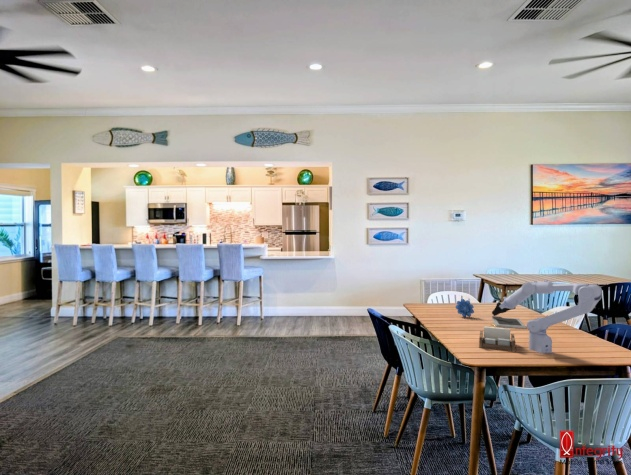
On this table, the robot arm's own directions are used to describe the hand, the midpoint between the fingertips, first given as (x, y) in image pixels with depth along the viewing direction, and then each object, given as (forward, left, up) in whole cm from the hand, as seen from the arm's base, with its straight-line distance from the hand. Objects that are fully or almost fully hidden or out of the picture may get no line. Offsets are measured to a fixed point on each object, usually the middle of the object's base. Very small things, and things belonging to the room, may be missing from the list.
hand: (496, 312), depth 207 cm
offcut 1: (-10, +12, -14) cm, 21 cm away
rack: (-5, +4, -15) cm, 16 cm away
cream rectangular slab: (-6, +5, -14) cm, 16 cm away
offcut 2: (-14, +7, -14) cm, 21 cm away
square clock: (+31, -33, -16) cm, 48 cm away
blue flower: (+53, -18, -15) cm, 58 cm away
